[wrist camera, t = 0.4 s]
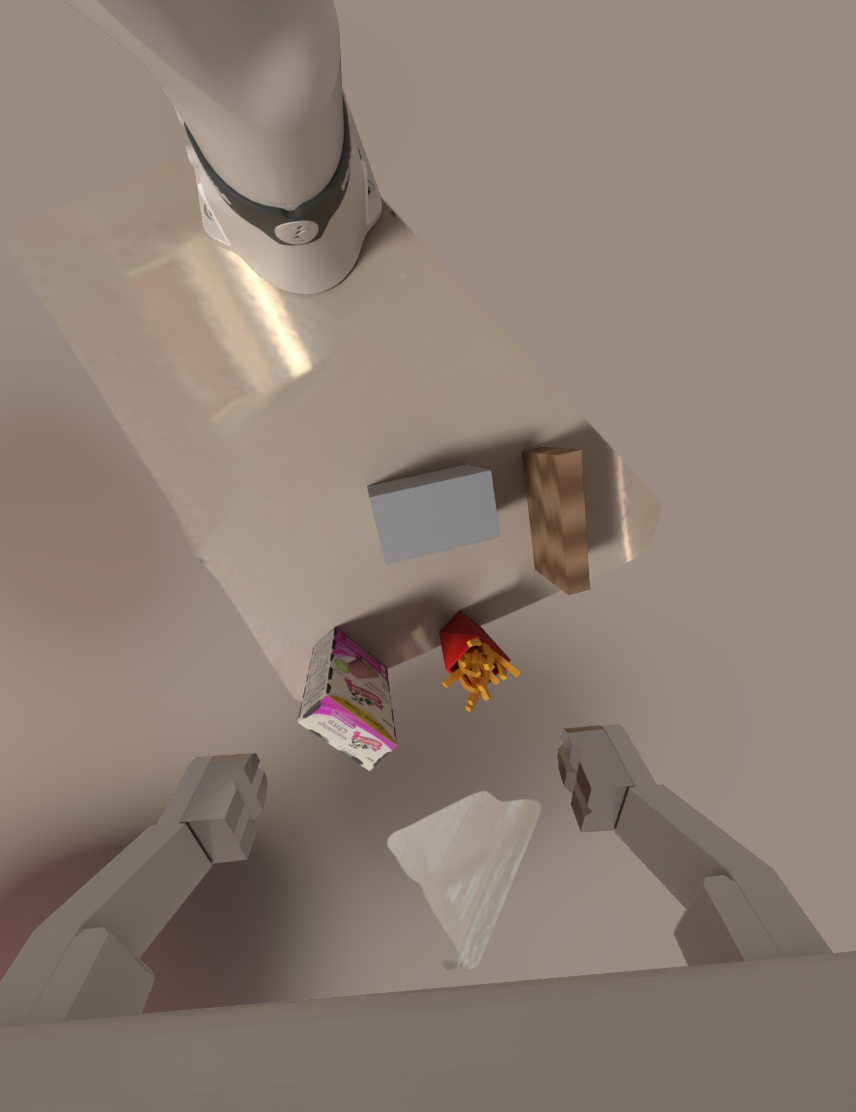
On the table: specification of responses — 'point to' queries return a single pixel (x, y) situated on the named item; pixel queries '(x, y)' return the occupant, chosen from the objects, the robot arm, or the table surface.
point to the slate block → (434, 511)
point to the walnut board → (558, 516)
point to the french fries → (472, 657)
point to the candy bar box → (349, 700)
